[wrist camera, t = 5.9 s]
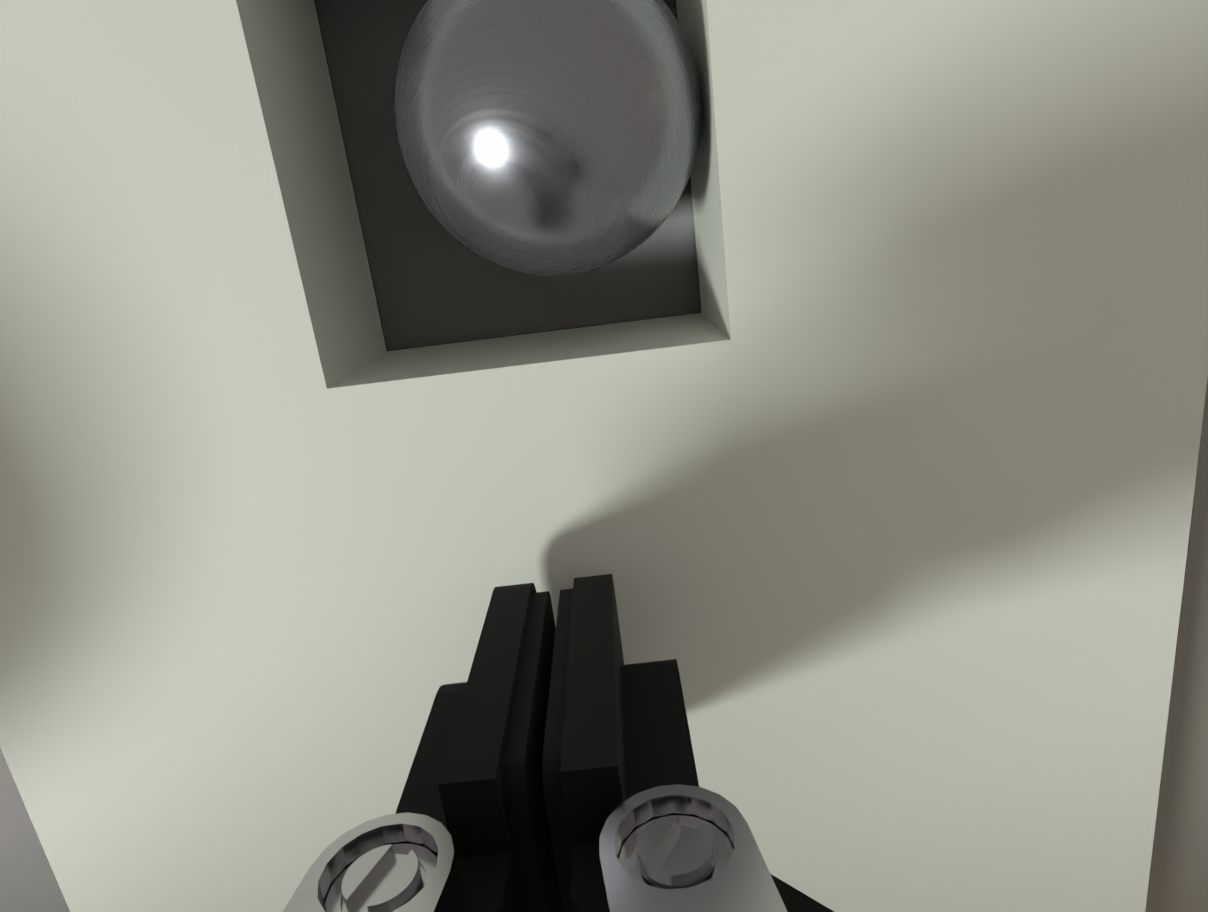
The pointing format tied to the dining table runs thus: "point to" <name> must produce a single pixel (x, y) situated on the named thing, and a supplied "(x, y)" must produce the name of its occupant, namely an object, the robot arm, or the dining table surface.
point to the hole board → (613, 450)
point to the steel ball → (548, 125)
